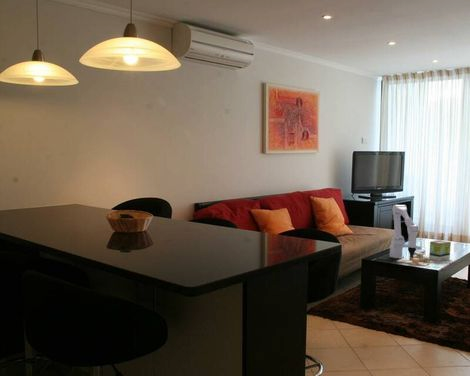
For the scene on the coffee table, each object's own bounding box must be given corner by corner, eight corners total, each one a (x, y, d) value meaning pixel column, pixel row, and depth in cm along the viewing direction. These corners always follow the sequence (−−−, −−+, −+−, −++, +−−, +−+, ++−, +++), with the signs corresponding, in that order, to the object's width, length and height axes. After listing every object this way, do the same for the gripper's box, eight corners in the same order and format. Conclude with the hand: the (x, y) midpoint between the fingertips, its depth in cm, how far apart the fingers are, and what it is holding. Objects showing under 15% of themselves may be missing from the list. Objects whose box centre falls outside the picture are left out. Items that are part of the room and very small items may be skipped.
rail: (397, 261, 376) (397, 260, 376) (401, 260, 382) (401, 259, 382) (425, 266, 361) (425, 265, 361) (428, 264, 367) (428, 263, 367)
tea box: (440, 261, 379) (440, 243, 378) (428, 259, 387) (429, 241, 386) (450, 259, 388) (451, 241, 387) (438, 256, 396) (439, 239, 395)
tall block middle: (416, 261, 378) (416, 253, 377) (418, 260, 381) (418, 252, 380) (421, 262, 375) (421, 254, 375) (423, 261, 378) (423, 253, 378)
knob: (412, 262, 369) (412, 258, 368) (414, 261, 372) (414, 257, 372) (417, 263, 366) (417, 259, 366) (419, 262, 369) (419, 258, 369)
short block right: (423, 262, 374) (423, 257, 374) (424, 261, 377) (425, 257, 377) (428, 263, 371) (428, 258, 371) (429, 262, 374) (430, 257, 374)
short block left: (409, 260, 381) (409, 255, 381) (411, 259, 384) (411, 255, 384) (414, 261, 379) (414, 256, 379) (416, 260, 382) (416, 255, 381)
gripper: (401, 239, 372) (400, 256, 373) (419, 242, 362) (418, 259, 363) (404, 238, 377) (404, 255, 378) (423, 240, 367) (422, 258, 368)
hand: (411, 257), depth 371 cm, fingers closed
